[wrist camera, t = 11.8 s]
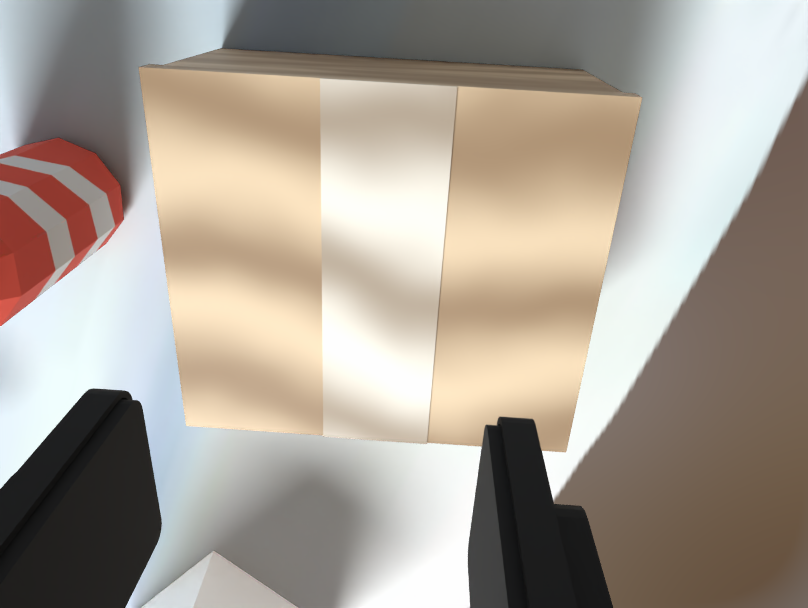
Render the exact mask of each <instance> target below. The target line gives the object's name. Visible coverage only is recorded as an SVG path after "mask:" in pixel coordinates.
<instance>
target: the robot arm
mask: <svg viewBox="0 0 808 608" xmlns="http://www.w3.org/2000/svg"><path fill="white" fill-rule="evenodd" d="M161 524H162V522H161V514H160V509H159V503H158V497H157V491H156V485H155V479H154V473H153V467H152V462H151V456H150V450H149V444H148V438H147V432H146V426H145V420H144V415H143V409H142V405H141V403H140V402H139V401H137V400H132V396H131V395H130V393H129V392H127V391H122V390H108V389H89V390H88V391H87V392H85V393H84V395H83V396H82V397H81V398H80V399H79V400H78V401H77V403H76V404H75V405H74V406H73V407H72V408H71V410H70V411H69V412H68V413H67V414H66V415H65V417H64V418H63V419H62V420H61V421H60V422H59V424H58V425H57V426H56V427H55V428H54V429H53V430H52V432H51V433H50V434H49V435H48V436H47V437H46V439H45V440H44V441H43V442H42V443H41V444H40V446H39V447H38V448H37V449H36V450H35V451H34V452H33V454H32V455H31V456H30V457H29V458H28V459H27V461H26V462H25V463H24V464H23V465H22V466H21V468H20V469H19V470H18V471H17V472H16V473H15V474H14V475H13V476H12V477H11V478H10V479H9V480H8V481H7V482H6V483H5V484H4V486H3V487H2V488H1V489H0V608H125V607H126V605H127V603H128V601H129V599H130V597H131V595H132V593H133V591H134V589H135V587H136V585H137V583H138V581H139V579H140V577H141V575H142V573H143V571H144V569H145V567H146V565H147V563H148V561H149V559H150V557H151V555H152V553H153V551H154V549H155V547H156V545H157V543H158V540H159V537H160V533H161ZM468 574H469V592H470V608H613V605H612V602H611V598H610V595H609V592H608V588H607V585H606V581H605V577H604V574H603V571H602V567H601V563H600V560H599V557H598V553H597V549H596V546H595V543H594V539H593V536H592V532H591V529H590V525H589V522H588V518H587V516H586V513H585V510H584V509H583V508H582V507H581V506H573V505H559V504H554V503H553V498H552V494H551V490H550V485H549V481H548V477H547V472H546V468H545V463H544V459H543V455H542V450H541V446H540V442H539V437H538V433H537V428H536V424H535V421H534V420H533V419H529V418H515V417H499V418H498V421H497V425H485V428H484V435H483V442H482V449H481V457H480V464H479V471H478V479H477V486H476V493H475V501H474V508H473V515H472V523H471V530H470V537H469V546H468Z"/></svg>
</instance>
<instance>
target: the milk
mask: <svg viewBox="0 0 808 608" xmlns="http://www.w3.org/2000/svg"><path fill="white" fill-rule="evenodd" d="M141 608H298V607H297V606H295V605H294V604H292V603H291V602H289V601H288V600H286V599H285V598H283V597H282V596H280V595H279V594H277V593H276V592H274V591H273V590H271V589H270V588H268V587H267V586H265V585H264V584H262V583H261V582H260V581H258V580H257V579H255V578H254V577H252V576H251V575H249V574H248V573H246V572H245V571H243V570H242V569H240V568H239V567H237V566H236V565H234V564H233V563H231V562H230V561H228V560H227V559H225V558H224V557H222V556H221V555H220V554H218V553H217V552H215V551H212V552H211V553H210V554H208V555H207V556H206V557H205V558H203V559H202V560H201V561H200V562H198V563H197V564H196V565H194V566H193V567H192V568H191V569H189V570H188V571H187V572H185V573H184V574H183V575H182V576H180V577H179V578H178V579H177V580H175V581H174V582H173V583H171V584H170V585H169V586H168V587H166V588H165V589H164V590H162V591H161V592H160V593H159V594H157V595H156V596H155V597H154V598H152V599H151V600H150V601H148V602H147V603H146V604H145V605H143V606H142V607H141Z"/></svg>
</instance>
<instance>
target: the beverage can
mask: <svg viewBox="0 0 808 608" xmlns="http://www.w3.org/2000/svg"><path fill="white" fill-rule="evenodd" d="M123 220H124V216H123V206H122V196H121V186H120V184H119V183H118V181H117V180H116V179H115V178H114V176H113V175H112V174H111V172H110V171H109V170H108V169H107V167H106V166H105V165H104V163H103V162H102V161H101V160H100V158H99V157H98V156H97V154H96V153H94V152H91V151H89V150H87V149H84V148H82V147H79V146H77V145H75V144H72V143H70V142H68V141H65V140H63V139H61V138H55V139H50V140H46V141H41V142H37V143H32V144H27V145H24V146H21V147H19V148H16V149H14V150H11V151H8V152H6V153H3V154H1V155H0V326H2V325H3V324H4V323H5V322H7V321H8V320H9V319H10V318H12V317H13V316H14V315H16V314H17V313H18V312H19V311H21V310H22V309H23V308H25V307H26V306H27V305H28V304H30V303H31V302H32V301H33V300H35V299H36V298H37V297H39V296H40V295H41V294H42V293H44V292H45V291H46V290H48V289H49V288H50V287H51V286H53V285H54V284H55V283H56V282H58V281H59V280H60V279H62V278H63V277H64V276H65V275H67V274H68V273H69V272H70V271H72V270H73V269H74V268H76V267H77V266H78V265H79V264H81V263H82V262H83V261H85V260H86V259H87V258H88V257H90V256H91V255H92V254H93V253H95V252H96V251H97V250H99V249H100V248H101V247H102V246H104V245H105V244H106V243H107V242H108V240H109V239H110V238H111V236H112V235H113V234H114V232H115V231H116V229H117V228H118V227H119V225H120V224H121V223H122V221H123Z"/></svg>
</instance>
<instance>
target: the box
mask: <svg viewBox="0 0 808 608" xmlns="http://www.w3.org/2000/svg"><path fill="white" fill-rule="evenodd" d="M165 65H171V66H188V67H205V68H221V69H238V70H255V71H272V72H288V73H305V74H322V75H338V76H355V77H372V78H388V79H405V80H422V81H439V82H455V83H472V84H489V85H505V86H522V87H539V88H555V89H572V90H589V91H606V92H621V91H619V90H618V89H616V88H614V87H612V86H611V85H609V84H607V83H605V82H604V81H602V80H600V79H598V78H596V77H595V76H593V75H591V74H589V73H588V72H586V71H584V70H580V69H563V68H546V67H529V66H512V65H495V64H479V63H462V62H445V61H428V60H411V59H394V58H377V57H361V56H344V55H327V54H310V53H293V52H276V51H259V50H243V49H226V48H220V49H217V50H213V51H210V52H207V53H203V54H200V55H196V56H193V57H189V58H186V59H182V60H179V61H175V62H172V63H168V64H165ZM622 93H623V92H622Z"/></svg>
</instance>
